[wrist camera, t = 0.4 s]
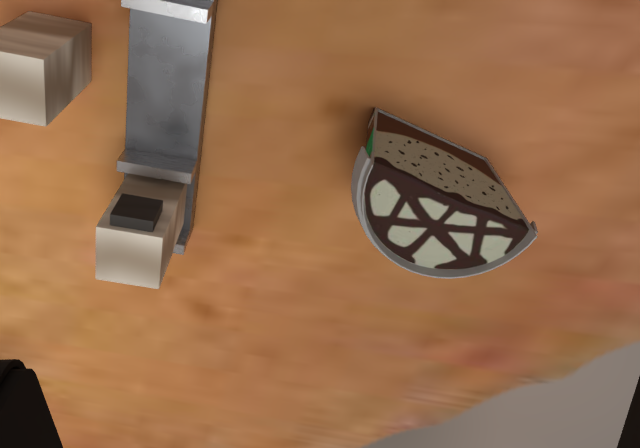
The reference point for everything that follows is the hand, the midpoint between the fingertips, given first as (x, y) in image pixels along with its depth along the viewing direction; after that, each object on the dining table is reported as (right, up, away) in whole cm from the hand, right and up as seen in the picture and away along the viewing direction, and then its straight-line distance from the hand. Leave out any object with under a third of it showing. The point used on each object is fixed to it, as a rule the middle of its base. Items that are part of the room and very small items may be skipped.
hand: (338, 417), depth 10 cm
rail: (-10, +14, +32) cm, 36 cm away
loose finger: (-18, +15, +31) cm, 39 cm away
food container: (+6, +7, +36) cm, 38 cm away
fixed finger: (-12, +5, +35) cm, 37 cm away
